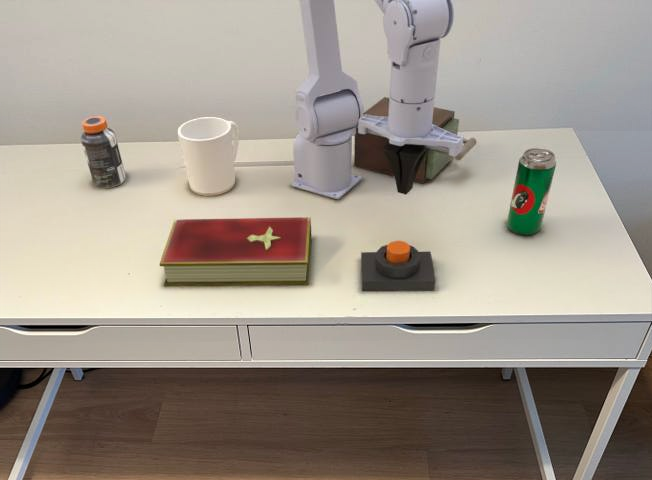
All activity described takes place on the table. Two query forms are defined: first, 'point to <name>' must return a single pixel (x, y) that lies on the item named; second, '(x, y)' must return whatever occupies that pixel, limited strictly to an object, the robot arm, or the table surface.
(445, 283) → the table surface
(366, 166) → the cabinet
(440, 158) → the drawer
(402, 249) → the button
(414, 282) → the button block
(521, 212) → the soda can
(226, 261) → the hardcover book
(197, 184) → the mug
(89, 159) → the pill bottle
